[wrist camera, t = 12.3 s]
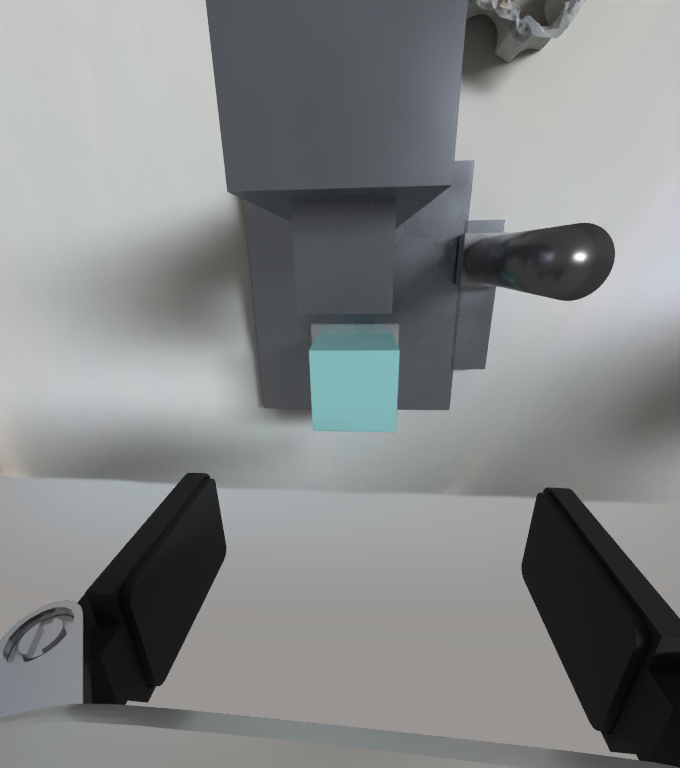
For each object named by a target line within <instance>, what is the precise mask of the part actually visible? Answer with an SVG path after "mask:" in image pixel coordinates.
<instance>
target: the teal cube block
mask: <svg viewBox="0 0 680 768" xmlns="http://www.w3.org/2000/svg"><path fill="white" fill-rule="evenodd" d="M399 353H400V350H399V348H398V345H397V343H396V340H395V338H394V335H393V333H392V332H319V333H318V335H317V337H316V339H315V340H314V342H313V344H312V346H311V348H310V349H309V363H310V383H311V403H312V423H313V431H368V432H396V423H397V400H398V377H399Z"/></svg>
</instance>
